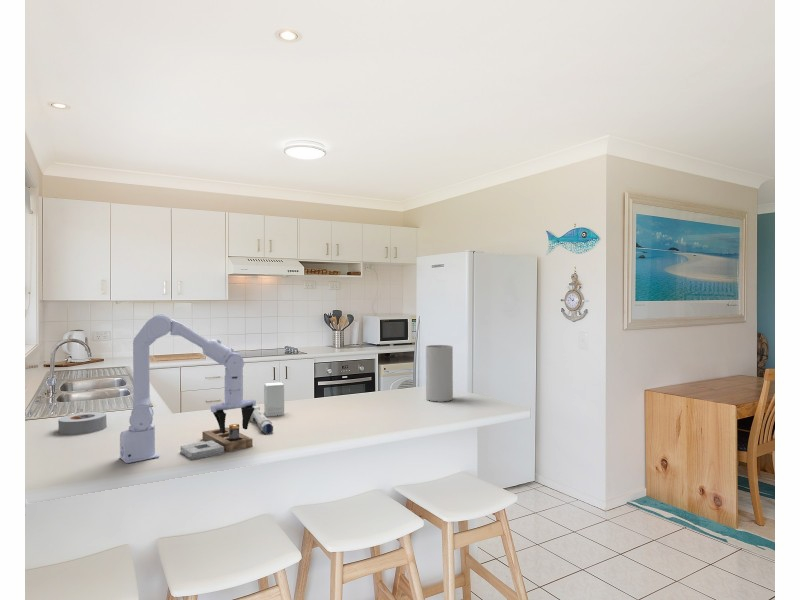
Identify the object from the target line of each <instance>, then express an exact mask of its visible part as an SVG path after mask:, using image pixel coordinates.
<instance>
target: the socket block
mask: <svg viewBox="0 0 800 600" xmlns="http://www.w3.org/2000/svg"><path fill="white" fill-rule="evenodd" d="M224 453H225V451H224V447H223V446H221V445H220V444H218V443H216V442H214V441H212V440H211V441H205V440H204V441H200V442H196V443H191V444H186V445H180V454H182V455H184V457H187V458H188V459H190V460H191V461H194V460H198V459H202V458H207V457H213V456H218V455H221V454H224Z"/></svg>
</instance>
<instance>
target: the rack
mask: <svg viewBox="0 0 800 600" xmlns="http://www.w3.org/2000/svg"><path fill="white" fill-rule="evenodd" d="M202 440H203V441H204V442H205V441H211V440H212V441H214V442H216V443H218V444H220V445H221V446H223V447H224V453H225V452H226V453H227V452H231V451H237V450H243V449H248V448H251V447H253V441H254V440H253V438H252V437H249V436H247V435H245V434H243V433H241V432H239V440H236V441H231V442H230V441H229V426H227V427H225V433H223V434H222V433H220V428H216V429H211V430H210V429H209V430H204V431H202Z"/></svg>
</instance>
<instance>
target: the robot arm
mask: <svg viewBox="0 0 800 600" xmlns="http://www.w3.org/2000/svg"><path fill="white" fill-rule="evenodd" d="M169 333H170V336H180V337H181V338H184V339H185V340H188V342H191V343H192V344H194V345H196V346H197V347H199V348H201V349H202V353H203V355H205V356H206V357H208V358H210V360H212V361H215V362H216V363H218V364H220V365H223V366H224V369H225V370H224V373H225V375H224V402H223V403H222V402H221V403H216V404H211V405H210V412H212V414H213V416H214V418H215V419H216V421H217V424H218V429H220V433H222V434H223V433H225V428H226V417H227V413H226V412H225V411H228V410H233V409H234V410H236V409H240V410H241V416H242V420H241V421H242V422H241V424H242V429H244V430H248V427H249V422H250V421H249V420H250V417H251V415H252V413H253V411H254V407H253V406H256V405H257V402H256V399H244V394H243V393H244V391H243V390H244V384H243V383H244V378H243V377H244V375H243V368H244V365H245V361H244V359H243V357H242V355H240V354H239V353H238V352H237V351H235V349H234V348H232V347H231V348H229V347H227V346H226V345H225V344H223V343H222V340H220V339H217V340H216V339H215V338H212V339H207V338H205V337H203V336H202V335H201V334H199V332H196V331H195V330H193V329H192V328H190V327H188V326H187V325H185V324H184V323H183V322H180V321H177V320H175V319H173V318H170V317H168V316H167V315H165V314H157V315H154V316H153V317H151V318H150V319H148V320H147V321H146V322H145V323H144V325H143V326H142V327H141V329H140V330H139V331H138V333H137V334H136V335H135V337H134V338H133V341H132V344H133V345H132V348H133V349H132V359H133V360H132V363H133V364H132V367H133V369H132V370H133V371H132V372H133V374H132V377H133V378H132V379H133V385H132V386H133V389H132V390H133V393H132V394H133V401H132V410H131V413H130V416H129V421H128V423H129V424H130V426H128V429H127V430H124V431H123V430H122V431H121V432H120V433H119V459H121V460H122V461H123V462H124V463H125V464H130V463H134V462H140V461H144V460H151V459H154V458H155V459H156V458H159V457H160V454H158V453H157V452H156V434H155V433H156V431H155V430H156V428H155V427H156V426H155V425H156V424H155V423H153V418H154V417H153V416H154V409H153V407H152V406H151V395H150V394H151V393H150V392H151V389H150V388H151V387H150V381H151V380H150V372H151V371H150V346H151V345H152V344H153V343H154V342H156V341H157V339H160V338H162V337H164V336H166V335H167V334H169Z"/></svg>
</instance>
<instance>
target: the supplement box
mask: <svg viewBox="0 0 800 600" xmlns="http://www.w3.org/2000/svg"><path fill="white" fill-rule="evenodd" d="M263 406H264V407H263V409H264V411H263V414H264V416H265V417H276V416H277V415H278V416H285V383H282V382H281V381H278V382H269V383H268V382H266V383H263ZM278 416H277V417H278Z"/></svg>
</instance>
